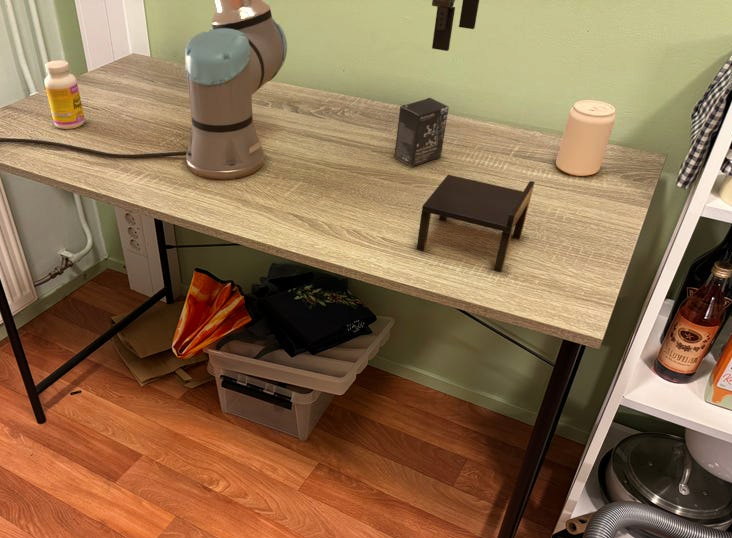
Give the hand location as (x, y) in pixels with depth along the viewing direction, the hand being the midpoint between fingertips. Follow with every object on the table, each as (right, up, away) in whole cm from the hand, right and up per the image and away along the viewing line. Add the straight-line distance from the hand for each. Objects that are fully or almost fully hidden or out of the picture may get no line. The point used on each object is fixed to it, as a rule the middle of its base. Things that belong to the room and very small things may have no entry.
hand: (453, 38), depth 118 cm
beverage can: (+27, -19, +15) cm, 36 cm away
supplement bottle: (-77, -4, +33) cm, 84 cm away
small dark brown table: (+1, -36, -5) cm, 37 cm away
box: (-3, -15, +19) cm, 24 cm away
